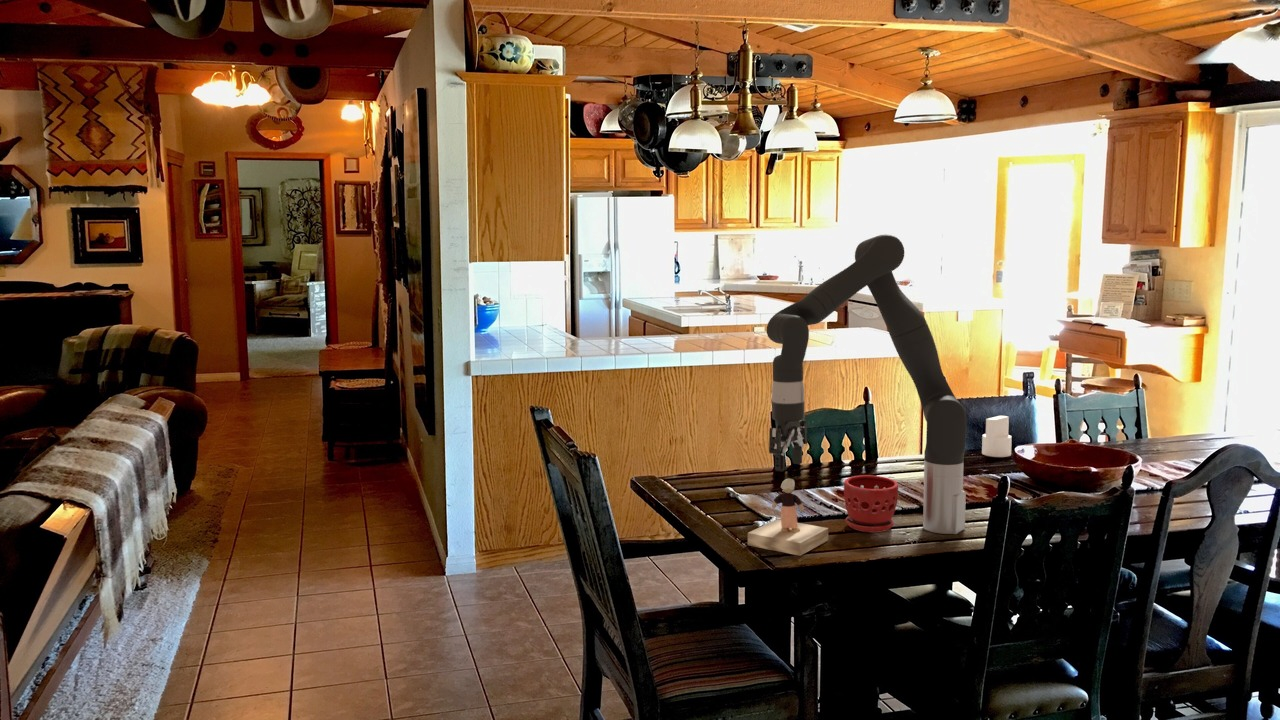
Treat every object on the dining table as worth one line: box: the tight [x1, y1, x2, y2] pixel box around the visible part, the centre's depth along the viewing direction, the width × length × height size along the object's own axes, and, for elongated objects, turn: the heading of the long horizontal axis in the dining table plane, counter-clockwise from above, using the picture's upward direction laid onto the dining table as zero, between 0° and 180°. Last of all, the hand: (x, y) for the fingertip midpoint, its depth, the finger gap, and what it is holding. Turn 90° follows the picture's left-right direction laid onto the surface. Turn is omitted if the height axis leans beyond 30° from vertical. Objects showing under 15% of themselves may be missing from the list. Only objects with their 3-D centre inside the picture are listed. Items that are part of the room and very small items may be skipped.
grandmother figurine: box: [771, 477, 805, 533], centre depth 243 cm, size 8×4×13 cm, turn 81°
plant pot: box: [843, 474, 899, 533], centre depth 254 cm, size 13×13×12 cm
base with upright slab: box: [981, 415, 1012, 458], centre depth 333 cm, size 9×9×12 cm
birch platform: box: [747, 518, 829, 557], centre depth 244 cm, size 14×14×3 cm
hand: (788, 467), depth 241 cm, fingers open, 8 cm apart
